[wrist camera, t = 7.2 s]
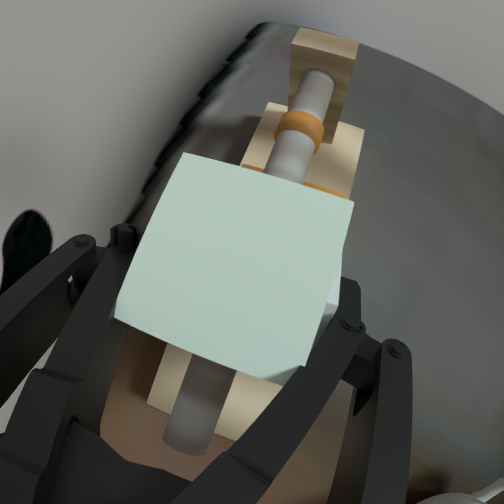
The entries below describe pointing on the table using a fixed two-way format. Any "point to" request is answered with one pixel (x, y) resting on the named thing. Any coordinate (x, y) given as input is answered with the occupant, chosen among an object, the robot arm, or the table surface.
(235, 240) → the sleeve
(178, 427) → the lead screw slider
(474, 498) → the teacup
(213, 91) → the table surface
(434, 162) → the table surface
